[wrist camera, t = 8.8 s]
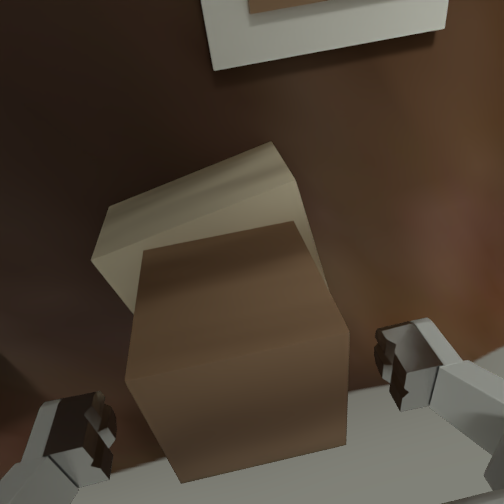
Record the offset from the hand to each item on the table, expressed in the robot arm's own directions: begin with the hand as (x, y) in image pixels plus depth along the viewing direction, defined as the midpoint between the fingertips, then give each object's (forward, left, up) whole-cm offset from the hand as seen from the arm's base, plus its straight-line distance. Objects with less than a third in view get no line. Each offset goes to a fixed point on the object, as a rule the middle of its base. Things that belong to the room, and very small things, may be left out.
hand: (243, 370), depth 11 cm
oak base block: (0, 0, -7) cm, 7 cm away
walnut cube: (0, 0, -3) cm, 3 cm away
